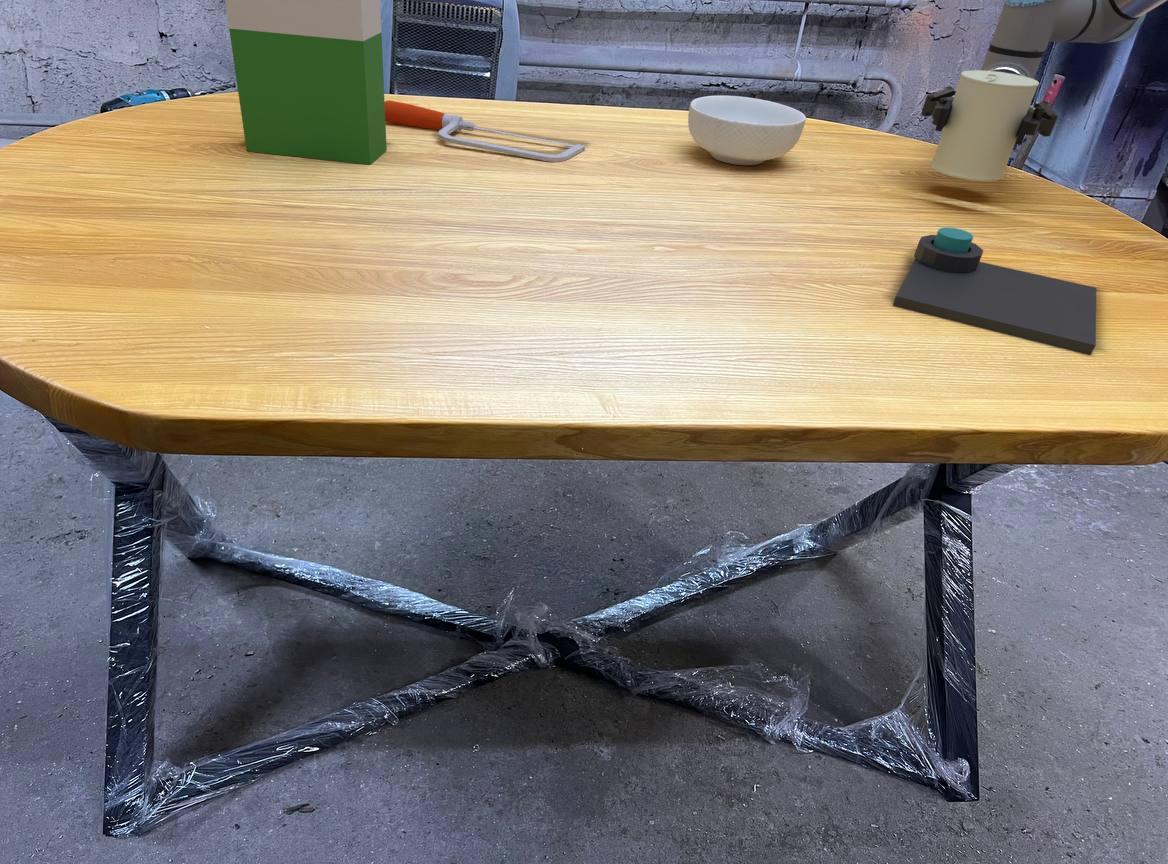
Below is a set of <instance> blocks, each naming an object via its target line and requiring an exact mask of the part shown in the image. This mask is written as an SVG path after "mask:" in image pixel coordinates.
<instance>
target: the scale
mask: <svg viewBox="0 0 1168 864" xmlns="http://www.w3.org/2000/svg"><path fill="white" fill-rule="evenodd" d="M936 235H937V234H929V235H924V236H921V237H920V239H919V241H918V243H917V246H916V249H915V252H914V255H913V257H914V261H913V262H912V264H911V266H910V268H909V270H908V272H907V273H906V275H905V278H904V279H903V281H902V284H901V286H900V287H899V289H898V291H897V293H896V295H895V298H894V301H893V303H892V306H893V307H896V308H899V309H904V310H908V311H911V312H915V313H919V314H924V315H928V316H931V317H934V318H935V317H936V318H940V319H942V320H943V319H944V320H946V321H947V320H948V321H952V322H956V323H960V324H963V325H968V326H972V327H976V328H979V329H983V330H988V331H992V332H995V333H999V334H1003V335H1007V336H1011V337H1015V338H1019V339H1023V340H1027V341H1031V342H1036V343H1039V344H1043V345H1046V346H1050V347H1055V348H1058V349H1064V350H1066V351H1071V352H1074V353H1077V354H1078V353H1079V354H1083V355H1086V356H1091V355H1092V353H1093V351H1095V348H1096V345H1097V287H1094V286H1090V285H1085V284H1082V283H1081V284H1080V283H1077V282H1072V281H1067V280H1064V279H1059V278H1055V277H1050V276H1045V275H1041V274H1036V273H1033V272H1032V273H1031V272H1028V271H1023V270H1019V269H1014V268H1010V267H1007V266H1006V267H1005V266H1001V265H996V264H993V263H989V262H988V263H987V262H982V261H981V259H982V256H983V253H984V249H983V248H981V247H980V246H979V245H978V244H976V243H975V242H973V241H972V242H971V245H970V247H969V250H968V252H967V253H953V252H949V251H945V250H941V249H939V248H936V247H935V246H934V245H933V243H934V240H935V238H936Z"/></svg>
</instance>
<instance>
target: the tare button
mask: <svg viewBox="0 0 1168 864" xmlns="http://www.w3.org/2000/svg"><path fill="white" fill-rule="evenodd" d="M935 235H936V238H935V240H934V243H933V245H934V246H935V247H936V248H939V249H941V250H945V251H949V252H953V253H967V252H968V250H969V247H970V245H971V242H972V243H973V240H974V235H973V234H972V233H970V232H969V231H967V230H964V229H960V228H955V227H940V228H939V229H938V230H937V232H936V234H935Z"/></svg>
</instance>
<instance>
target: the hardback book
mask: <svg viewBox="0 0 1168 864" xmlns="http://www.w3.org/2000/svg"><path fill="white" fill-rule="evenodd" d="M224 3H225V10H226V16H227V23H228V31H229V37H230V44H231V52H232V58H233V59H232V60H233V67H234V73H235V79H236V87H237V94H238V100H239V107H240V114H241V121H242V128H243V136H244V142H245V149H246V152H250V153H251V152H252V153H260V154H267V155H268V154H269V155H278V156H288V157H297V158H304V159H315V160H322V161H333V162H341V163H349V164H350V163H351V164H359V165H369V166H371V165H372V164H373V163H374V162H375V161H376V160H378V158H380V157H381V156H383V154H384V153H385V152H387V151H388V149H387V125H386V121H385V101H386V100H385V83H384V82H385V81H384V80H385V79H384V59H383V38H382V37H383V36H382V35H383V34H382V16H381V15H382V14H381V12H382V11H381V0H224Z"/></svg>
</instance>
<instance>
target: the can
mask: <svg viewBox="0 0 1168 864" xmlns="http://www.w3.org/2000/svg"><path fill="white" fill-rule="evenodd" d="M1039 86H1040V82H1039V80H1037V79H1035V78H1034V79H1032V78H1029V77H1025V76H1021V75H1016V74H1010V73H1004V72H996V71H983V70H981V69H974V70H971V69H970V70H964V71H962V72H961V73H960V77H959V80H958V84H957V87H956V93H955V96H954V99H953V102H952V106H951V109H950V112H949V115H948V118H947V121H946V124H945V127H944V128H943V129H942V131H941V135H940V139H939V141H938V144H937V147H936V150H935V153H934V156H933V158H932V160H931V162H930V163H929V164H930V165H929V166H930V168H931V169H932V170H933V171H935V172H937V173H940V174H942V175H944V176H949V177H952V178H956V179H961V180H967V181H972V182H998V181H1000V180H1002V179H1003V178H1004V177H1005V172H1006V169H1007V166H1008V163H1009V161H1010V158H1011V155H1012V152H1013V149H1014V147H1015V145H1016V144H1015V142H1016V139H1017V136H1018V134H1019V131H1020V128H1021V126H1022V123H1023V121H1024V118H1025V116H1026V114H1027V111H1028V109H1029V106H1030V105H1031V103H1032V101H1033V98H1034V96H1035V94H1036V91H1037V89H1038V87H1039Z"/></svg>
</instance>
